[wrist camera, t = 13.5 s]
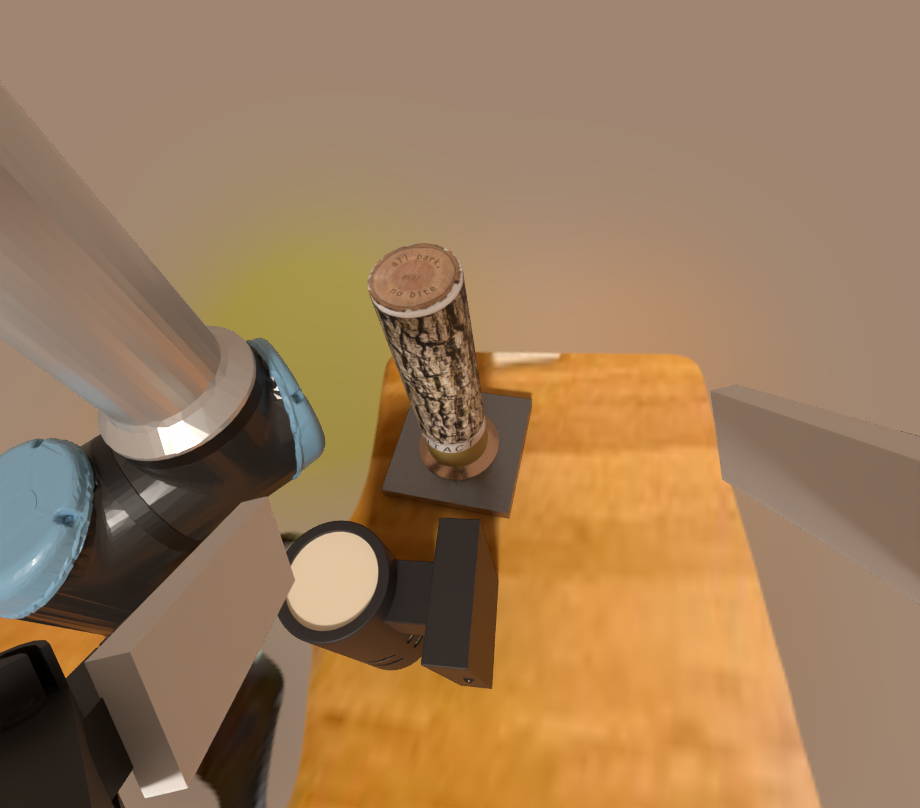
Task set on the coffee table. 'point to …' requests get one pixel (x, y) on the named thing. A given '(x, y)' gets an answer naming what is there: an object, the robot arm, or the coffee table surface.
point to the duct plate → (471, 485)
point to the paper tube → (433, 347)
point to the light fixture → (397, 600)
